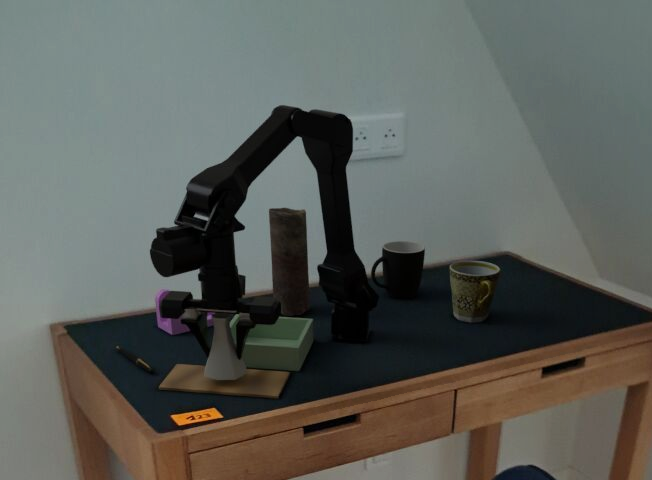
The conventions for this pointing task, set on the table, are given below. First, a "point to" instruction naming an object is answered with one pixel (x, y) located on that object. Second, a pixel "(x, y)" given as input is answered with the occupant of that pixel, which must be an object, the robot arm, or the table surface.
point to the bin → (277, 343)
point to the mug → (401, 268)
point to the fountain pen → (136, 359)
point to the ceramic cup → (473, 289)
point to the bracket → (173, 324)
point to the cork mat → (225, 382)
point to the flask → (223, 352)
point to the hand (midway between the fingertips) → (224, 358)
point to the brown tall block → (289, 259)
